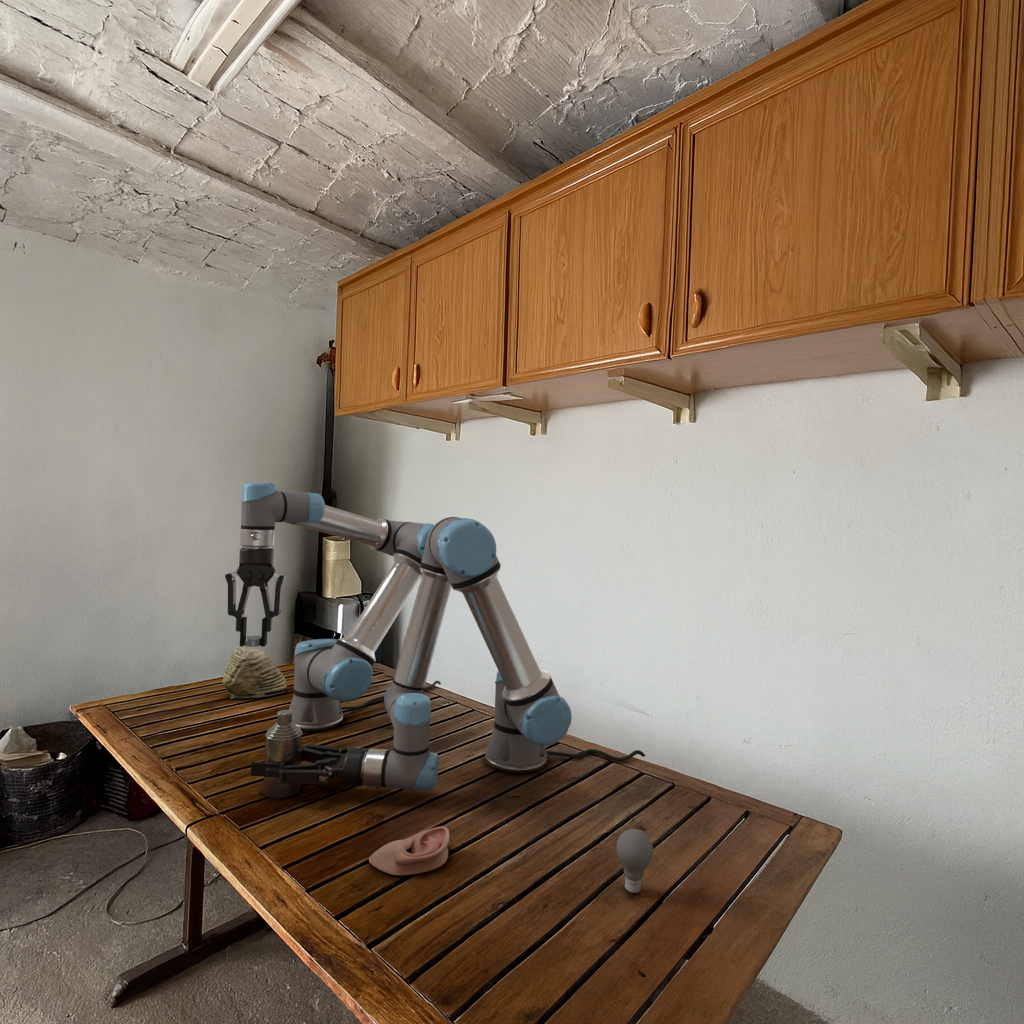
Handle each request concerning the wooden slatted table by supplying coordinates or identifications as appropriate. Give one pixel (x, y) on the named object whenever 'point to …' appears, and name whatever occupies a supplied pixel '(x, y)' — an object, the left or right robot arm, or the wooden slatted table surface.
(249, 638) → the cap
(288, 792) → the bottle
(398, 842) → the anatomical model
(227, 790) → the wooden slatted table surface
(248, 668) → the fossil
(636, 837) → the light bulb
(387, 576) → the left robot arm
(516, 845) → the wooden slatted table surface
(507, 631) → the right robot arm
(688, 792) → the wooden slatted table surface
